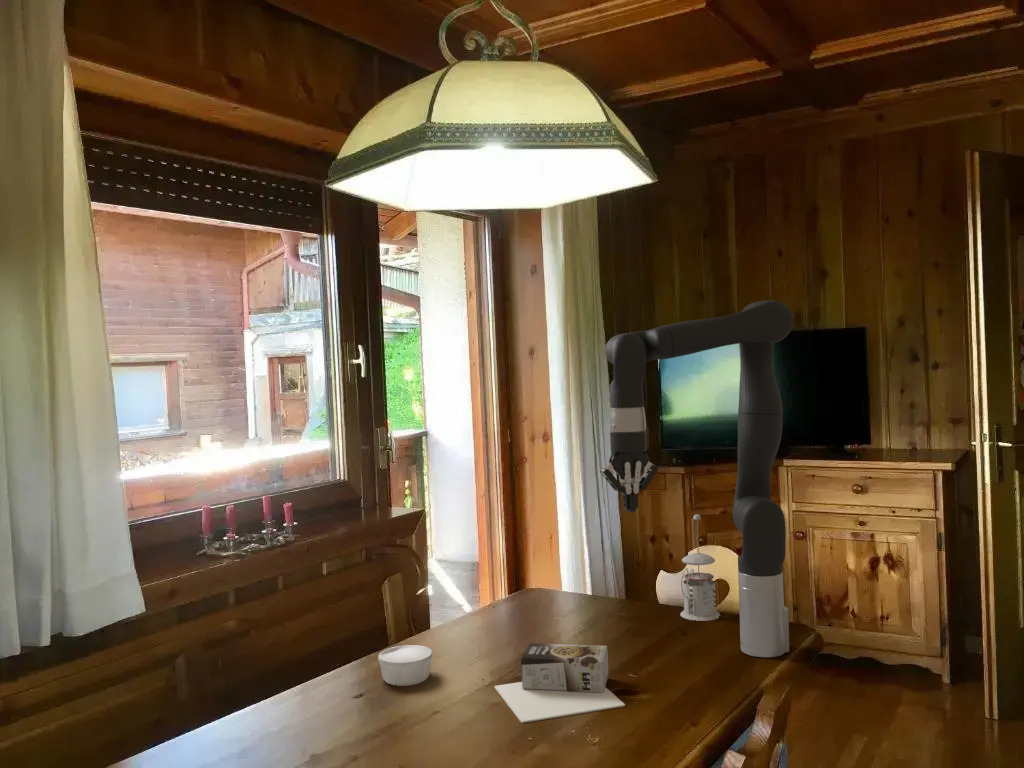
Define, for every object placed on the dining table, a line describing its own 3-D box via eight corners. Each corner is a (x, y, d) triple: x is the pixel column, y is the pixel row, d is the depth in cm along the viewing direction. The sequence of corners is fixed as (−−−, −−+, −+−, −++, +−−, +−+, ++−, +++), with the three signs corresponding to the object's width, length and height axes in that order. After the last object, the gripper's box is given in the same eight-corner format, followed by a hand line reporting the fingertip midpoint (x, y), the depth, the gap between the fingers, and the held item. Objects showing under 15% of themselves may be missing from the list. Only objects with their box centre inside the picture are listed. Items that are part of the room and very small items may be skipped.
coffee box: (603, 660, 163) (520, 657, 166) (604, 693, 163) (521, 690, 167) (607, 644, 172) (528, 641, 175) (608, 675, 172) (529, 672, 176)
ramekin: (401, 665, 184) (400, 641, 184) (444, 673, 178) (443, 648, 178) (367, 683, 174) (366, 657, 174) (411, 692, 169) (410, 665, 169)
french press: (728, 613, 212) (724, 513, 212) (703, 625, 204) (700, 520, 203) (693, 606, 219) (690, 509, 218) (668, 617, 210) (664, 516, 210)
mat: (588, 673, 175) (588, 671, 175) (625, 706, 158) (624, 704, 158) (494, 687, 169) (494, 685, 169) (521, 723, 152) (521, 721, 152)
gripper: (648, 426, 185) (651, 506, 185) (591, 429, 181) (594, 511, 181) (664, 428, 177) (667, 511, 178) (605, 431, 174) (608, 517, 174)
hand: (630, 511), depth 180 cm, fingers closed
